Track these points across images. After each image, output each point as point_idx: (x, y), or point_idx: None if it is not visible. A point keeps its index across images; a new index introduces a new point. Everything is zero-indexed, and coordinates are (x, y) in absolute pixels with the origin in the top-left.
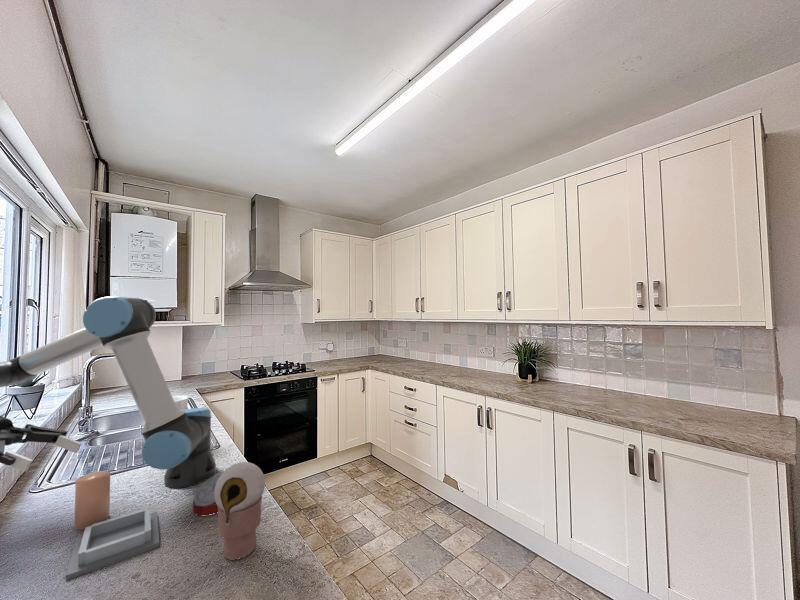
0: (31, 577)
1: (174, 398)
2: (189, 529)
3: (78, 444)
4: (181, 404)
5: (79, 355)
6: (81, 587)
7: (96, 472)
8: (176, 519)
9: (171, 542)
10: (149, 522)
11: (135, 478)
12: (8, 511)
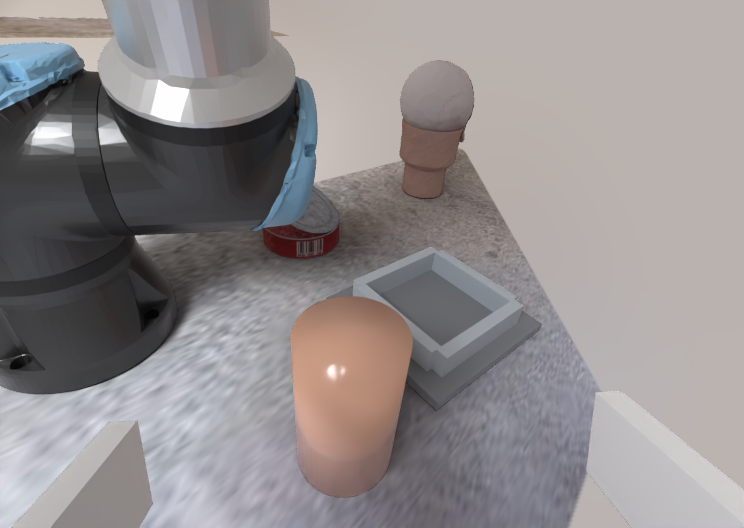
0: (562, 398)
1: None
2: (379, 242)
3: (135, 433)
4: None
5: None
6: (537, 299)
7: (308, 351)
8: (346, 268)
9: (416, 249)
10: (409, 257)
11: None
12: None
